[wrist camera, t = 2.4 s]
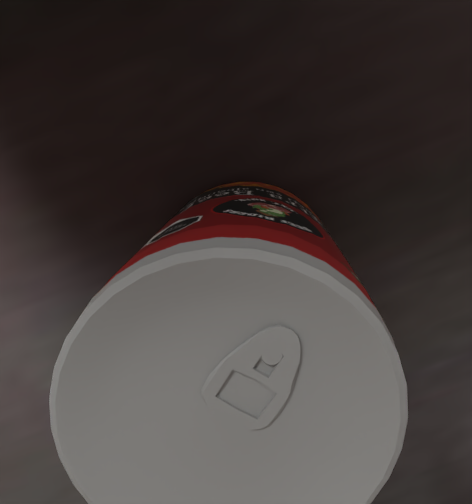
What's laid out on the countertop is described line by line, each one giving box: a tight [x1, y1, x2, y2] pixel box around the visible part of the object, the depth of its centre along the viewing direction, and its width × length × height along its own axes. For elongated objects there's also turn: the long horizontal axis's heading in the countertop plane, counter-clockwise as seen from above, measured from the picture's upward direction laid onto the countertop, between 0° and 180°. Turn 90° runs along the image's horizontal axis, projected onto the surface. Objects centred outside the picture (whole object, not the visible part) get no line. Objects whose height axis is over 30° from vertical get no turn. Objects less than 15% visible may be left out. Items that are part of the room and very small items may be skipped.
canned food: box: [49, 182, 408, 504], centre depth 14 cm, size 8×8×11 cm
